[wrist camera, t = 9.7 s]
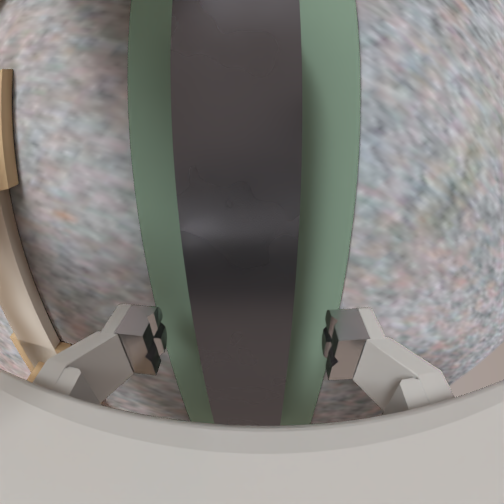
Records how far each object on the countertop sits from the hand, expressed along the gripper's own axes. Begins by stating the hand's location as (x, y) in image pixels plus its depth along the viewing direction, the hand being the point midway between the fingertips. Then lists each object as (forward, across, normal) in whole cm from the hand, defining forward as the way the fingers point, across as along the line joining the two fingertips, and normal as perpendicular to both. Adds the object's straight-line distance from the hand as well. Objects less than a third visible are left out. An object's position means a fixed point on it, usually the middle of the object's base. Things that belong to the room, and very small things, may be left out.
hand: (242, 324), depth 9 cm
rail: (+2, 0, 0) cm, 2 cm away
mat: (+3, 0, 0) cm, 3 cm away
